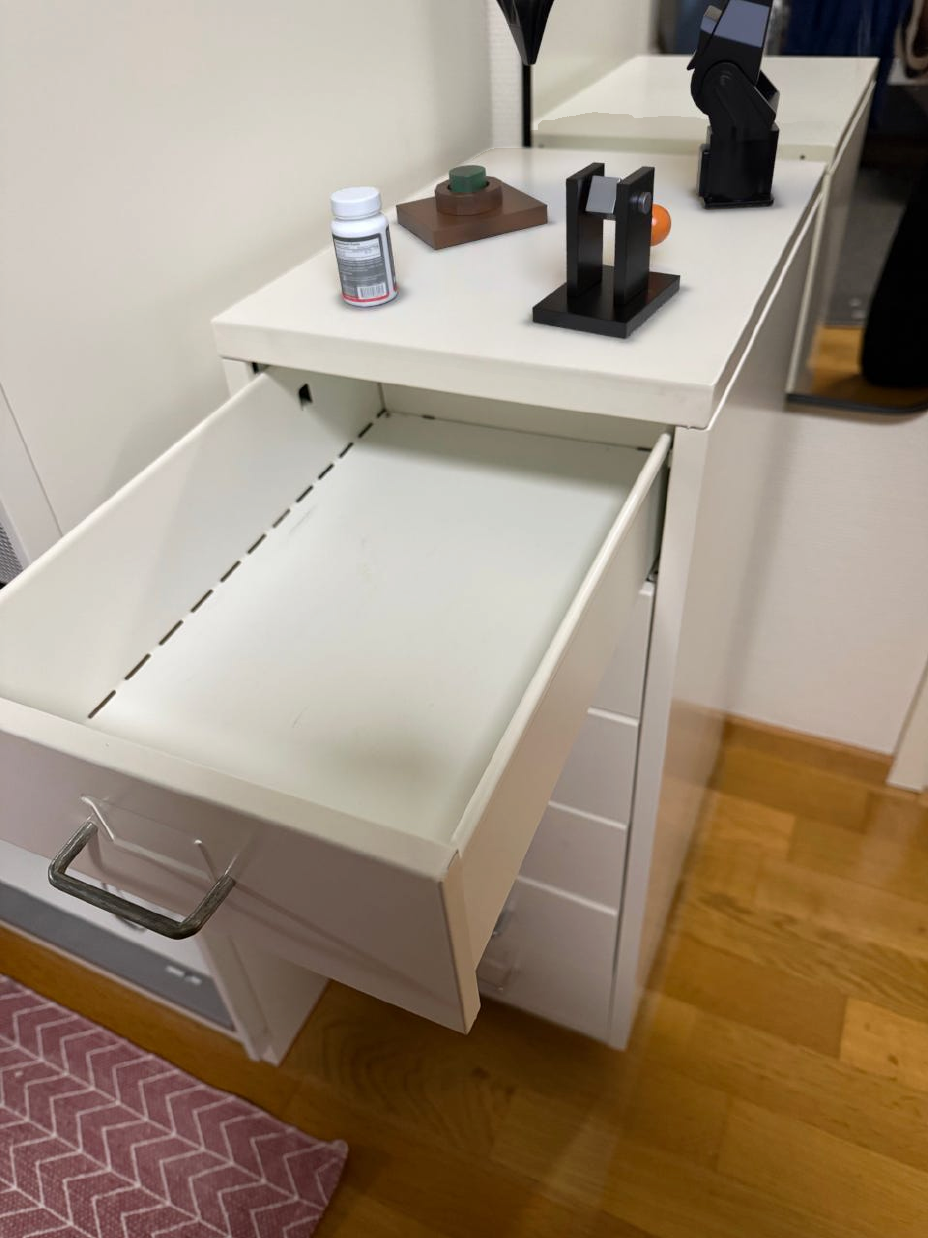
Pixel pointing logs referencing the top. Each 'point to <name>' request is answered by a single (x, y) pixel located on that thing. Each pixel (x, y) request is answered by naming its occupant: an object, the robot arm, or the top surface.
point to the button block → (470, 213)
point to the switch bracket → (606, 291)
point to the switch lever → (605, 207)
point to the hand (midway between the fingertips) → (529, 64)
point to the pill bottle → (363, 247)
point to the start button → (467, 178)
